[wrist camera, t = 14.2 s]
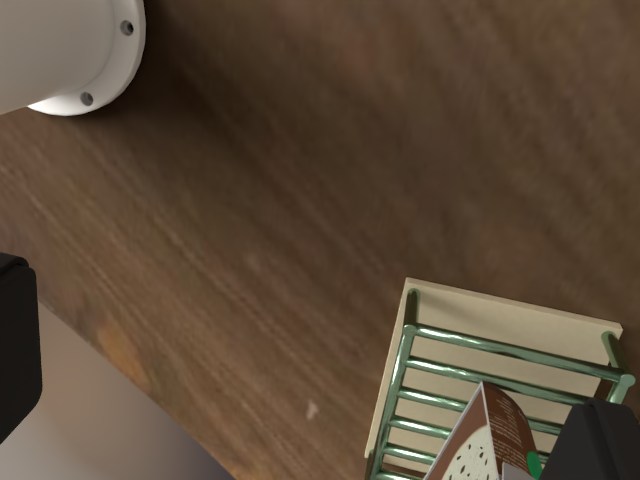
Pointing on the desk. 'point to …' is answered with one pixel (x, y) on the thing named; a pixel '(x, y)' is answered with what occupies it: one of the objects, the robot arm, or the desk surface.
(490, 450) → the food container
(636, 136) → the desk surface
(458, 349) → the dish rack
